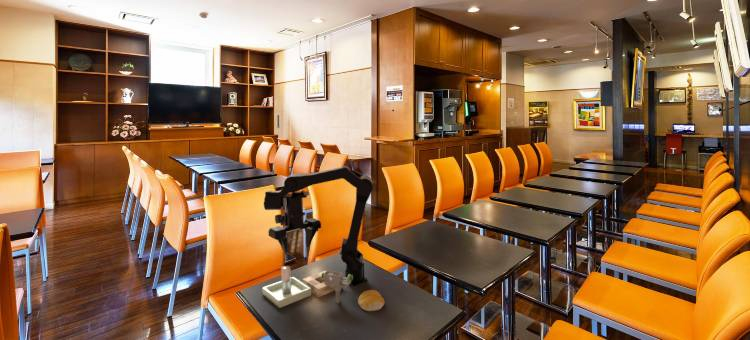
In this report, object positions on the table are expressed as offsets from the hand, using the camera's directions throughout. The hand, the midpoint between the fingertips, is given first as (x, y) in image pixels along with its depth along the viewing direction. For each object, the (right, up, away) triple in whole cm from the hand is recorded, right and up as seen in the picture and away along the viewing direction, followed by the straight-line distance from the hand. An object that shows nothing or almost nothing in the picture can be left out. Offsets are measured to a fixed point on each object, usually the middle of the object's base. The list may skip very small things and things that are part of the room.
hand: (296, 250), depth 131 cm
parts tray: (-2, -13, -8) cm, 16 cm away
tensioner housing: (+10, -13, -3) cm, 16 cm away
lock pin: (-2, -13, -8) cm, 15 cm away
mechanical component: (+16, -14, -13) cm, 25 cm away
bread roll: (+28, -15, -14) cm, 34 cm away
